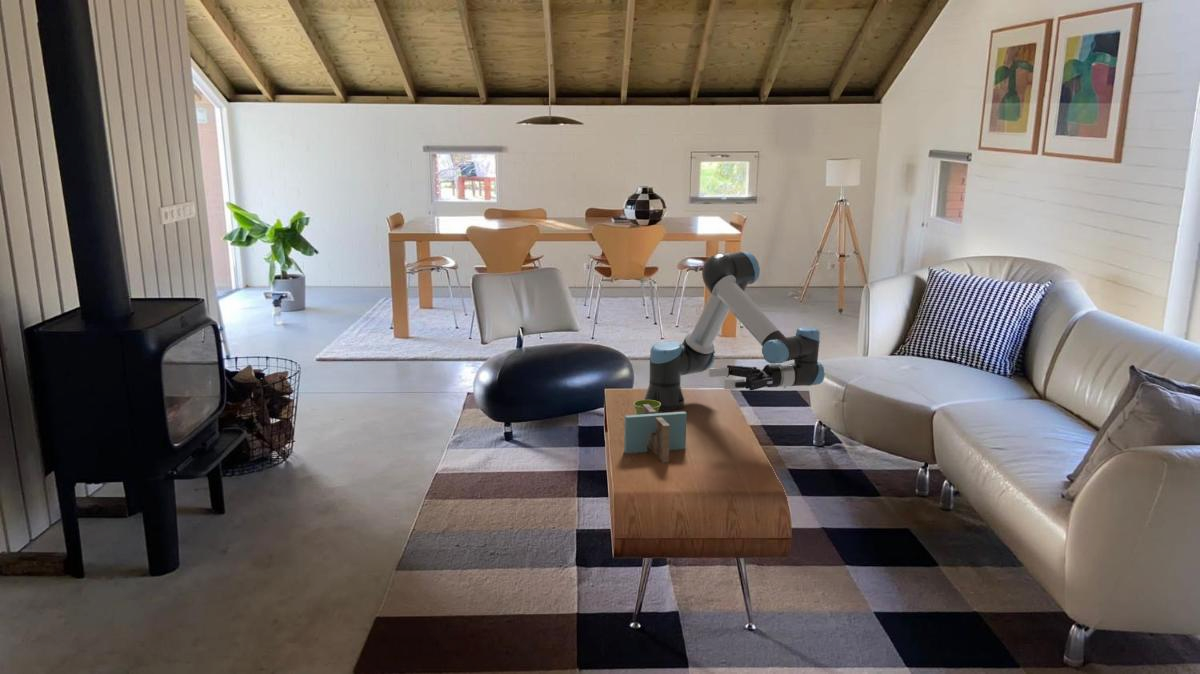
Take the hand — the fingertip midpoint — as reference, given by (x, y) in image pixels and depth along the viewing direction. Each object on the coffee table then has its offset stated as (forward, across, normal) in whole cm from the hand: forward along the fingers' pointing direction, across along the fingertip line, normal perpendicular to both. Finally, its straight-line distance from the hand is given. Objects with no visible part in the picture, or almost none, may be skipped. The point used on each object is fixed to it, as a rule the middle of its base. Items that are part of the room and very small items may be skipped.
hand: (716, 378), depth 271 cm
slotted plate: (+20, -2, -23) cm, 30 cm away
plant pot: (+17, +20, -23) cm, 35 cm away
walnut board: (+20, -2, -23) cm, 31 cm away
